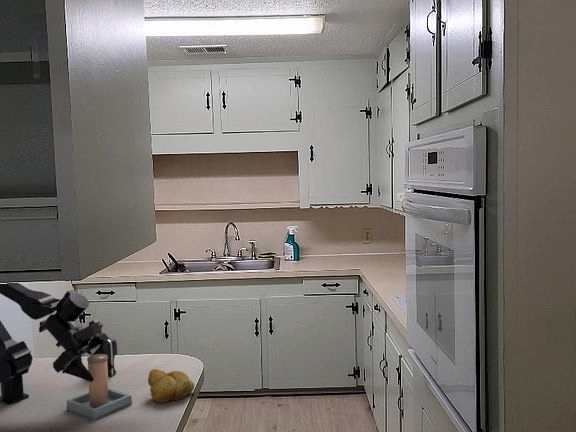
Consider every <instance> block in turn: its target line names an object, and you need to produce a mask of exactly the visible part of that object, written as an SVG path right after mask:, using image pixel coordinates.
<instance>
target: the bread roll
mask: <svg viewBox="0 0 576 432" xmlns="http://www.w3.org/2000/svg"><path fill="white" fill-rule="evenodd" d="M147 384H148V386H150V388H149V389H150V396H151V397H152V399H153V400H154V401H155V402H158V403H165V402H169V401H170V400H172V401H177V400H180V399H183V398H184V397H186V396H188V395H190V394H191V393H192V392H193V390H194V389H195V383H194V382H193V380H191V379H190V378H189V375H187V374H186V373H185V372H183V371H180V370H173V371H170V372H168V373H167V372H165V371H162V370H160V369H158V368H157V369H156V368H154V369H151V370H150V371H149V374H148V377H147Z"/></svg>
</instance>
